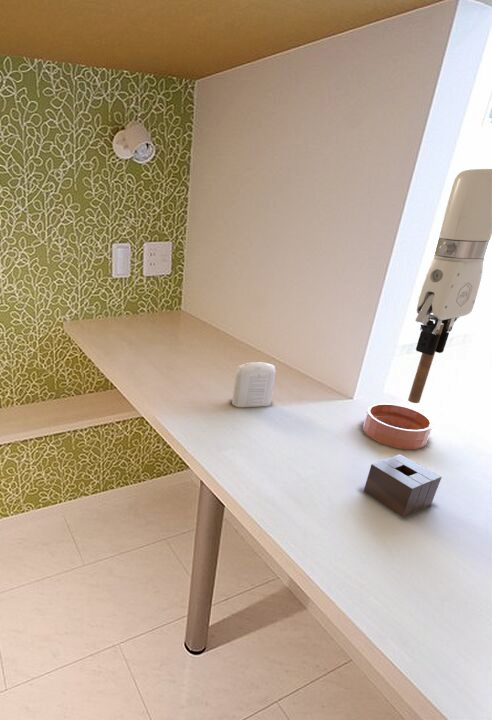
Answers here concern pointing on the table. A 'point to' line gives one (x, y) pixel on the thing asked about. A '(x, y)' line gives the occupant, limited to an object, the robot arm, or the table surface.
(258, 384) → the photo printer
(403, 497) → the stand
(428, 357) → the stick
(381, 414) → the bowl
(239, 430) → the table surface
